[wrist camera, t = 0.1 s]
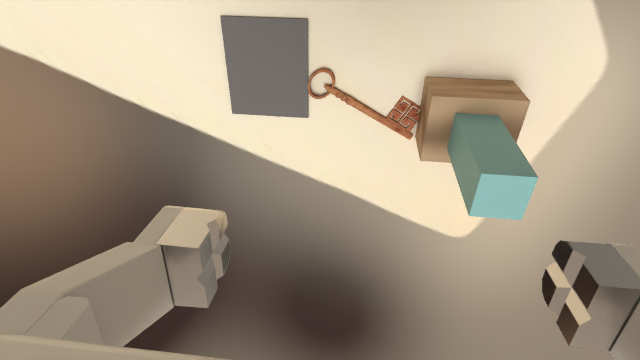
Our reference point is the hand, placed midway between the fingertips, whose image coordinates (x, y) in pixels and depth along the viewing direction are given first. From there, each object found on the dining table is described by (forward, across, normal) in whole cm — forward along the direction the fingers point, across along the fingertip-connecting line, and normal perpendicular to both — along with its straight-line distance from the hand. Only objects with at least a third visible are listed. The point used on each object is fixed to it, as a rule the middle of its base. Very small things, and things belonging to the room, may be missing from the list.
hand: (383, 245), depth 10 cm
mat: (+39, +12, +5) cm, 42 cm away
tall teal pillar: (+34, -12, +10) cm, 37 cm away
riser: (+40, -12, +9) cm, 43 cm away
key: (+40, 0, +8) cm, 41 cm away
